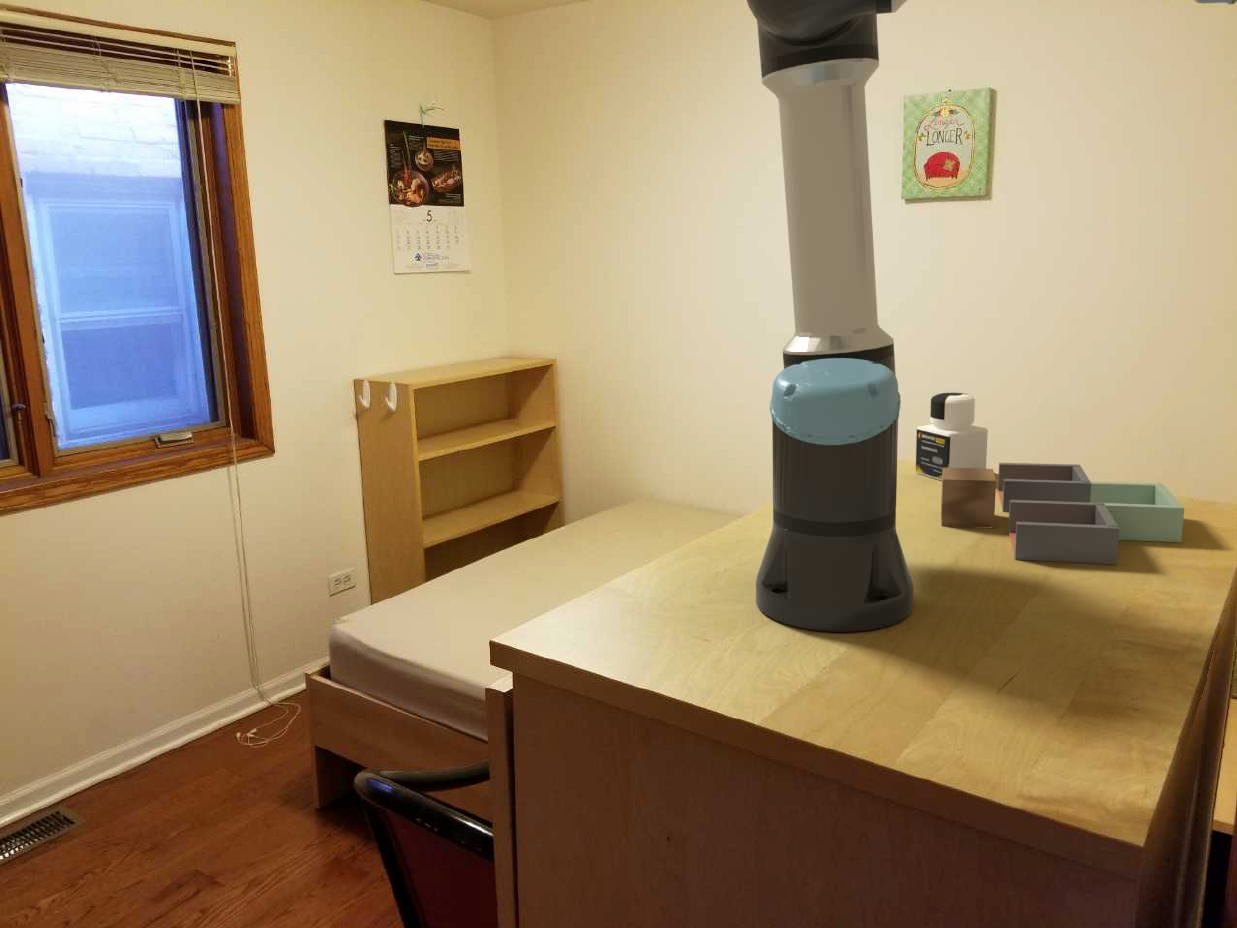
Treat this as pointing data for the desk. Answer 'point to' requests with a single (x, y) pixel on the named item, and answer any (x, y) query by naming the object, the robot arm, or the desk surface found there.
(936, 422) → the medicine bottle
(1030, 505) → the box
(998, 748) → the desk surface
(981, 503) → the walnut block
